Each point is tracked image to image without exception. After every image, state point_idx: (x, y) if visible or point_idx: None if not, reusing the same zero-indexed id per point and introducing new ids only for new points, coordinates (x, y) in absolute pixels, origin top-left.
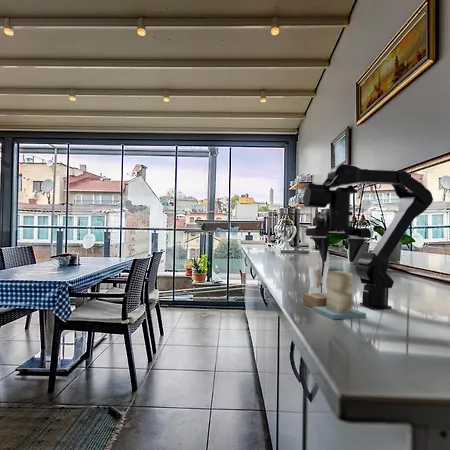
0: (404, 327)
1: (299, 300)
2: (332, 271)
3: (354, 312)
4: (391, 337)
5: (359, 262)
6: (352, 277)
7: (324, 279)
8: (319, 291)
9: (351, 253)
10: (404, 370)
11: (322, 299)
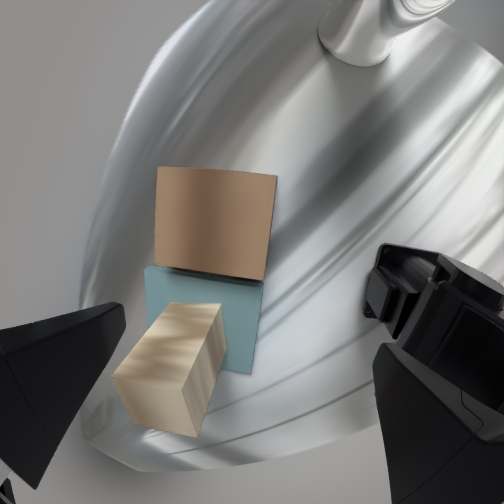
0: (266, 426)
1: (198, 108)
2: (134, 385)
3: (225, 358)
4: None
5: (443, 349)
6: (201, 424)
7: (386, 35)
8: (345, 52)
9: (401, 406)
10: (138, 457)
11: (180, 265)
